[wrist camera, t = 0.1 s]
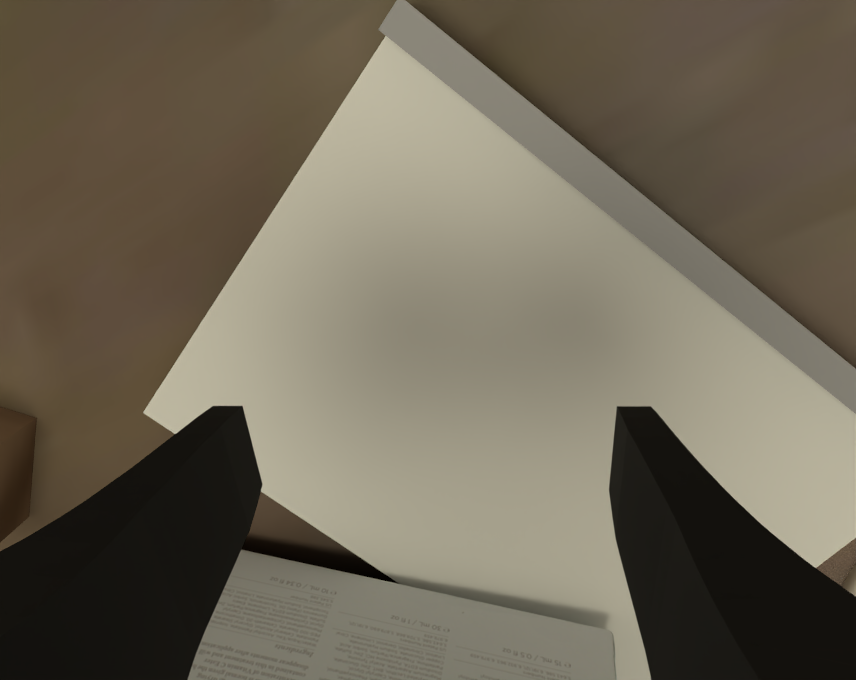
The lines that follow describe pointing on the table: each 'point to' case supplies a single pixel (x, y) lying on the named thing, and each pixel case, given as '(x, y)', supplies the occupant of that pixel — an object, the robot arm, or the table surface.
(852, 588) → the cream round disc
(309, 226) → the white tray
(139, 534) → the robot arm
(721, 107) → the table surface
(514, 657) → the grey printed book
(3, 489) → the walnut block
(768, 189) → the table surface
